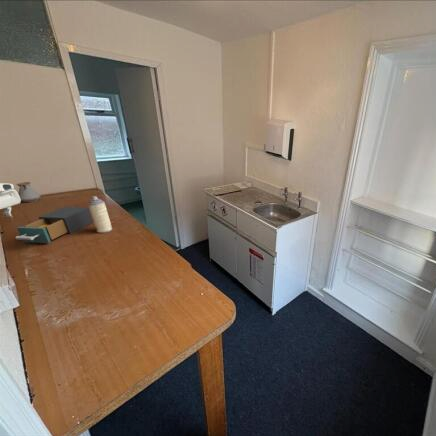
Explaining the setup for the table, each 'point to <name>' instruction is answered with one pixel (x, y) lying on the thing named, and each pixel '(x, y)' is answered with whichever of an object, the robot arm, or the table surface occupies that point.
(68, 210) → the cabinet
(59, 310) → the table surface
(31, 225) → the drawer
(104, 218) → the aerosol can
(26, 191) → the coffee pot
